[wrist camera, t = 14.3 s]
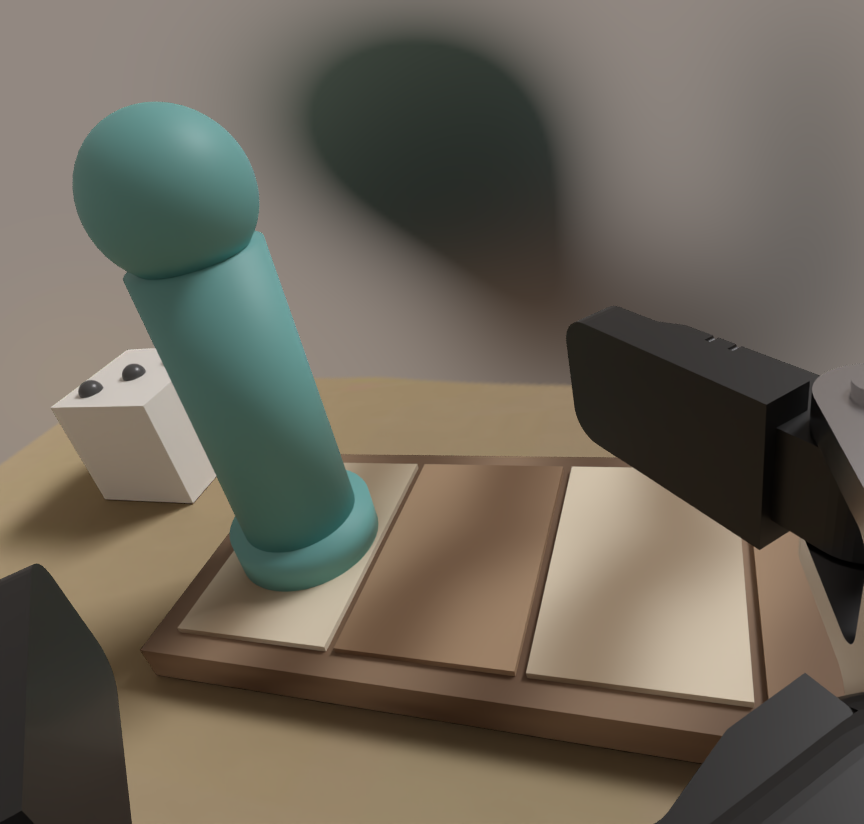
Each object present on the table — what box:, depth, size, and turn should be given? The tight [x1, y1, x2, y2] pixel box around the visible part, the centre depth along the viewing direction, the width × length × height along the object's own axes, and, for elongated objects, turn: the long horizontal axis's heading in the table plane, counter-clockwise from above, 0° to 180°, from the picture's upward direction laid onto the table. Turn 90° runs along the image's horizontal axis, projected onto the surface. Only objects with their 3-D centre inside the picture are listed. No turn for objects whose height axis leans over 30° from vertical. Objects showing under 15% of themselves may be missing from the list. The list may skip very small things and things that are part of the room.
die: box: [51, 348, 216, 503], centre depth 31 cm, size 5×5×6 cm
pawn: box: [73, 102, 378, 592], centre depth 20 cm, size 5×5×14 cm
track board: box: [140, 454, 845, 764], centre depth 21 cm, size 24×10×1 cm, turn 73°
